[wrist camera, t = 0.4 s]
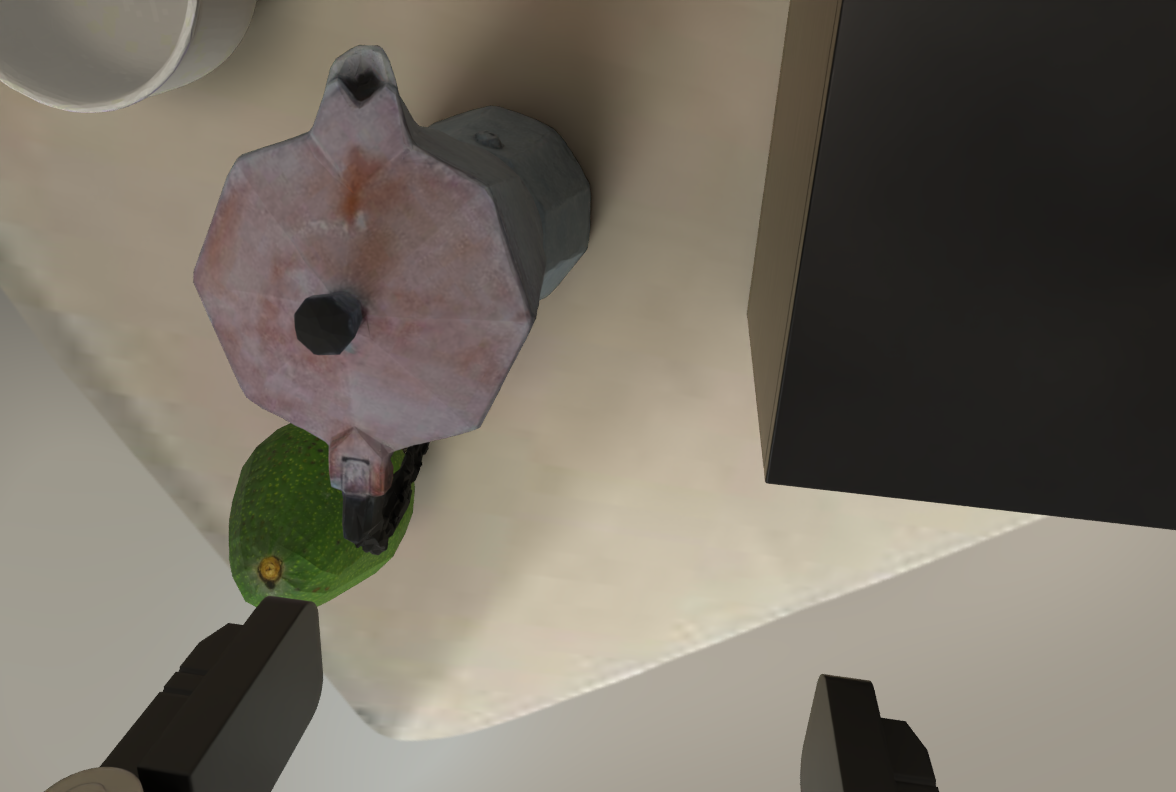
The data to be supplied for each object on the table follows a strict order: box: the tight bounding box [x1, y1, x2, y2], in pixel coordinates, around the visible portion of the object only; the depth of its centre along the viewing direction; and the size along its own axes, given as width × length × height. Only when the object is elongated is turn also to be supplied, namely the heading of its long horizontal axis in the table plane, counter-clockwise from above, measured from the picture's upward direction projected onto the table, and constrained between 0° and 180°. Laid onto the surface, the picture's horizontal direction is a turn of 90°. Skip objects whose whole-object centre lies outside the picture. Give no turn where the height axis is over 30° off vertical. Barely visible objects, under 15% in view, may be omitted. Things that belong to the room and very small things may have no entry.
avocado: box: [229, 423, 415, 607], centre depth 41 cm, size 8×8×12 cm
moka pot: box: [193, 45, 591, 555], centre depth 31 cm, size 10×15×20 cm, turn 179°
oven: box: [747, 0, 1176, 530], centre depth 29 cm, size 16×20×16 cm
